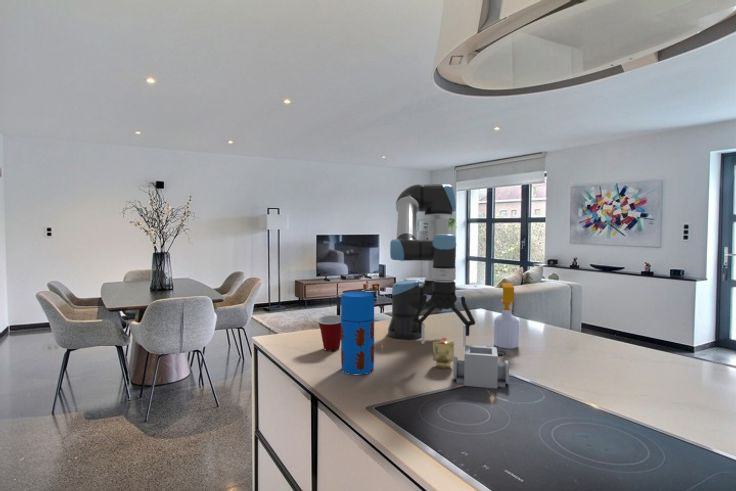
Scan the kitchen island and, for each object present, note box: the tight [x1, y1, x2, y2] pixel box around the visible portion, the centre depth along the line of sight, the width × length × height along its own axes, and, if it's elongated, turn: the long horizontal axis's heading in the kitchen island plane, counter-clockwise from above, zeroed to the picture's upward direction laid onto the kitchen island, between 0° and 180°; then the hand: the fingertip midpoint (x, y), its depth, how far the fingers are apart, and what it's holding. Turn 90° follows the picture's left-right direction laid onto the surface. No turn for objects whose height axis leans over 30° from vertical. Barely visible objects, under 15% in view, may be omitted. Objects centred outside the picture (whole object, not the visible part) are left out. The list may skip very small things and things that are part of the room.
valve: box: [432, 337, 455, 370], centre depth 145 cm, size 7×7×9 cm
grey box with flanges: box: [452, 344, 510, 389], centre depth 131 cm, size 16×9×10 cm, turn 76°
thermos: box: [340, 291, 375, 375], centre depth 141 cm, size 11×11×25 cm
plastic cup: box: [316, 314, 341, 351], centre depth 165 cm, size 11×11×12 cm
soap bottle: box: [493, 282, 520, 350], centre depth 169 cm, size 9×9×25 cm
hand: (443, 344), depth 144 cm, fingers open, 13 cm apart
